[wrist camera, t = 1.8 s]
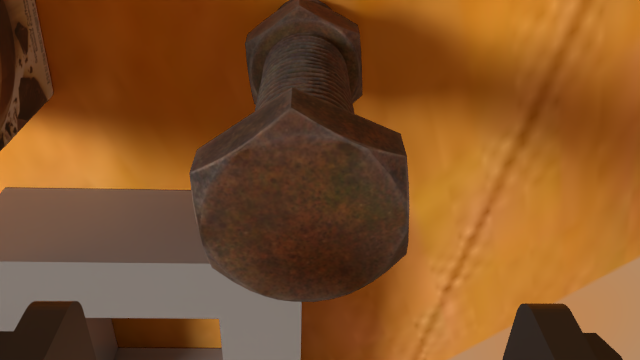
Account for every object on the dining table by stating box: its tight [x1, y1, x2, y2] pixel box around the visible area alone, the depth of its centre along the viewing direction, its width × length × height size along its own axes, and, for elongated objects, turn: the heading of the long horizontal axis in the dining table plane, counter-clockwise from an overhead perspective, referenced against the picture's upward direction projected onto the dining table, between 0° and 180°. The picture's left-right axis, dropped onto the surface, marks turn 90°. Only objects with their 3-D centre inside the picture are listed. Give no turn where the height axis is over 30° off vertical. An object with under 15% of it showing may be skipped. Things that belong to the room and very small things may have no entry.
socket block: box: [0, 188, 302, 360], centre depth 32 cm, size 16×16×6 cm
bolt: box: [190, 0, 409, 302], centre depth 20 cm, size 6×5×15 cm
